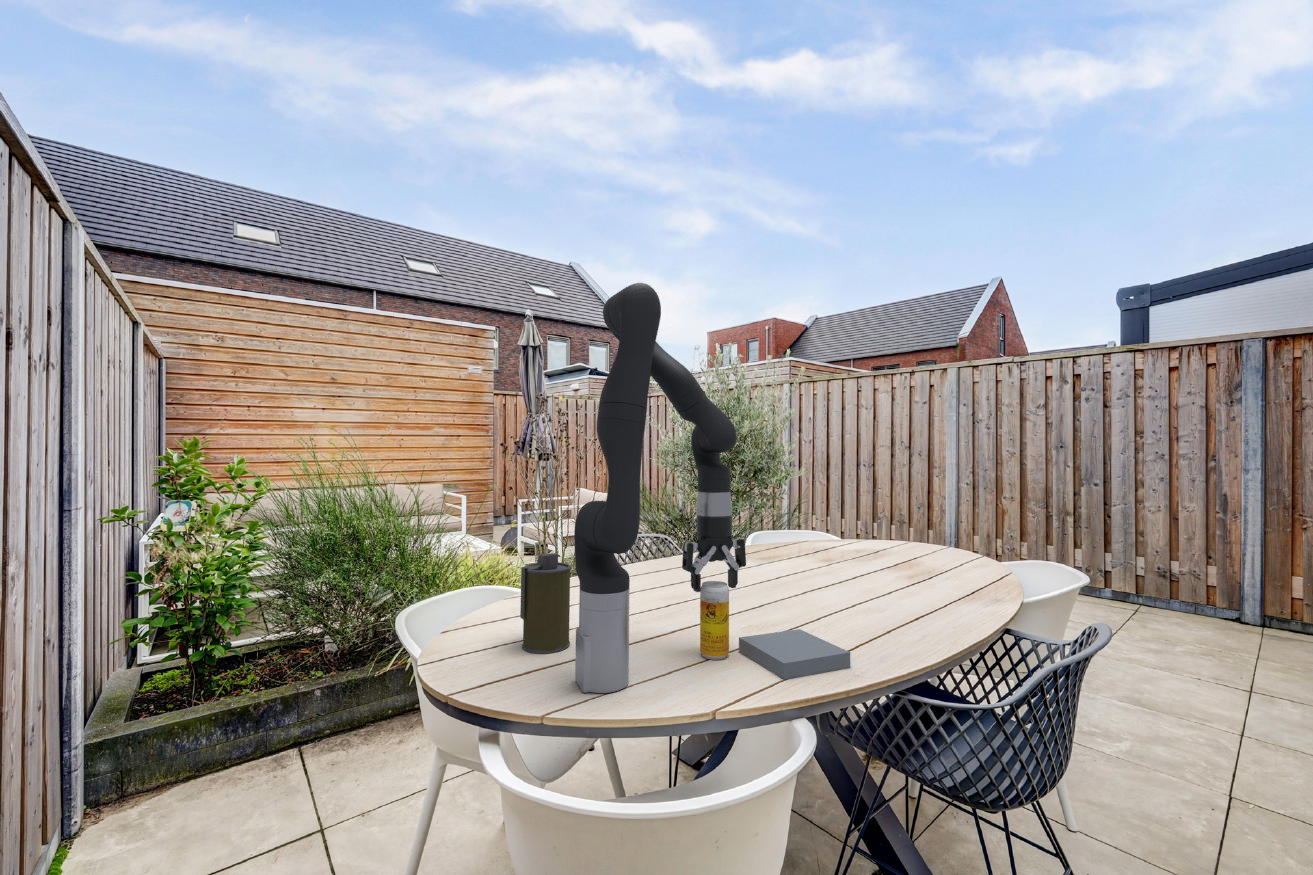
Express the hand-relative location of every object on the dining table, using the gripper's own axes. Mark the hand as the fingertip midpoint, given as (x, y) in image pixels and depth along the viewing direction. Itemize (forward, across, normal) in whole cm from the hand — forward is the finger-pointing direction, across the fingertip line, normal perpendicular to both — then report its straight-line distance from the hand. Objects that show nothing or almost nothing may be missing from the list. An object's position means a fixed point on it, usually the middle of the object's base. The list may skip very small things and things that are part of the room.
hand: (714, 589), depth 113 cm
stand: (+14, +14, -8) cm, 21 cm away
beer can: (+14, 0, 0) cm, 14 cm away
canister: (+14, -32, +19) cm, 40 cm away
